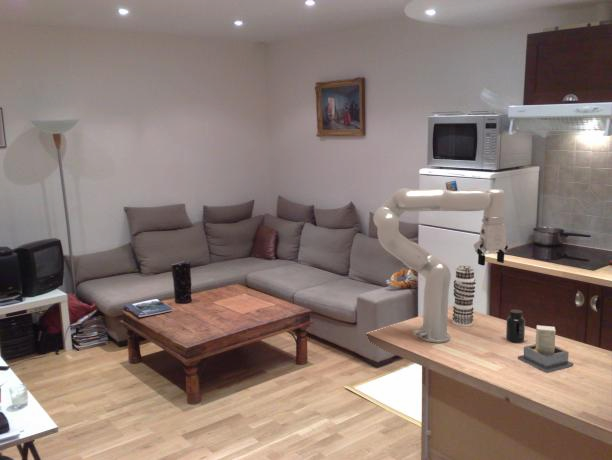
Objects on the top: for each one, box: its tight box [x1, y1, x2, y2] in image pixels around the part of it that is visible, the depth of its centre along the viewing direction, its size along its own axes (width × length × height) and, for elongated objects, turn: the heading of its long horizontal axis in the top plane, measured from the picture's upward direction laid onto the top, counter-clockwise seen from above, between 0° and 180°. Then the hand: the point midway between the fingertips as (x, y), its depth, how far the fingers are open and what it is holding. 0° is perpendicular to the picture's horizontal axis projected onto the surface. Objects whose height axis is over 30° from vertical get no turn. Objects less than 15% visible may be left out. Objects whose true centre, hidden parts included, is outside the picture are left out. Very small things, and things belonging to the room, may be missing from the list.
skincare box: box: [535, 324, 556, 355], centre depth 200 cm, size 6×4×12 cm
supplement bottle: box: [505, 309, 526, 344], centre depth 221 cm, size 7×7×12 cm
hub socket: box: [517, 343, 574, 374], centre depth 200 cm, size 13×13×6 cm
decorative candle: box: [452, 265, 477, 327], centre depth 240 cm, size 9×9×25 cm
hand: (490, 263), depth 221 cm, fingers open, 9 cm apart
